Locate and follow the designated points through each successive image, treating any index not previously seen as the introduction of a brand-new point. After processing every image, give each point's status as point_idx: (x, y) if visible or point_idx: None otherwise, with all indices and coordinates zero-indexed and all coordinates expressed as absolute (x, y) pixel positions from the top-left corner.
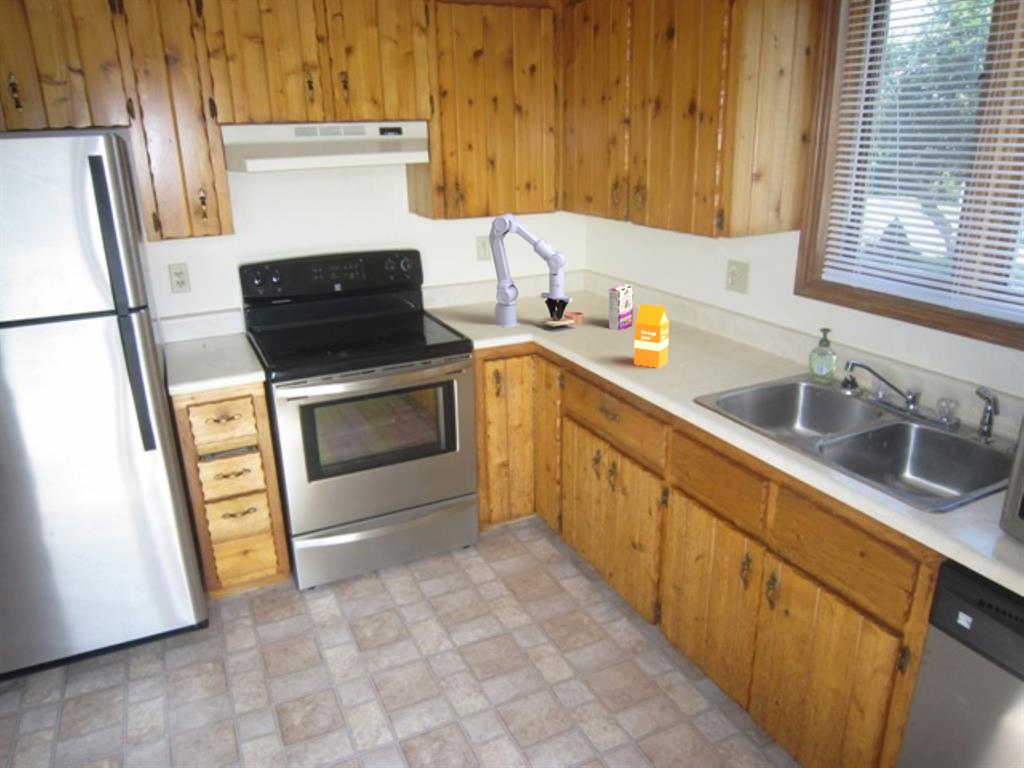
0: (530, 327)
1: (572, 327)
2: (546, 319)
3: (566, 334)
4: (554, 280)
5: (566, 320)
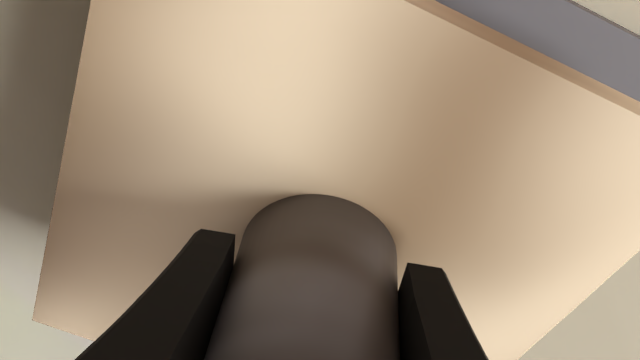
0: (7, 259)
1: (617, 71)
2: (131, 285)
3: (607, 347)
4: None
5: (536, 213)
